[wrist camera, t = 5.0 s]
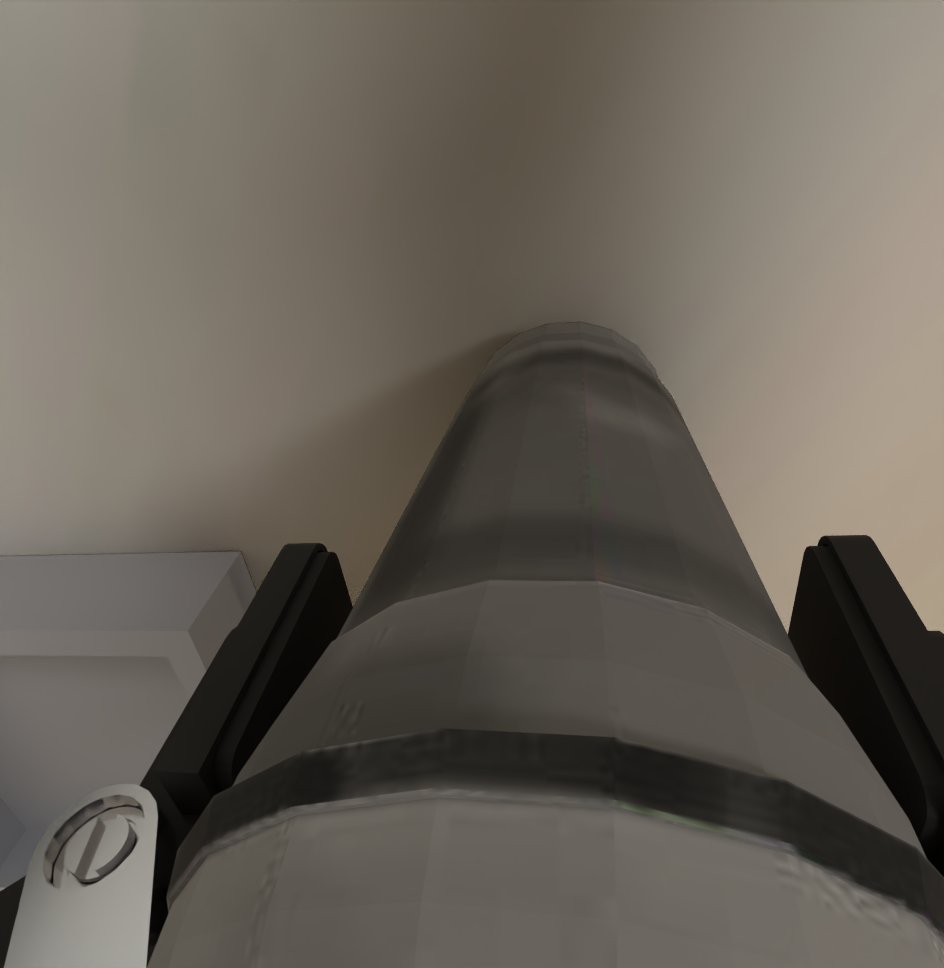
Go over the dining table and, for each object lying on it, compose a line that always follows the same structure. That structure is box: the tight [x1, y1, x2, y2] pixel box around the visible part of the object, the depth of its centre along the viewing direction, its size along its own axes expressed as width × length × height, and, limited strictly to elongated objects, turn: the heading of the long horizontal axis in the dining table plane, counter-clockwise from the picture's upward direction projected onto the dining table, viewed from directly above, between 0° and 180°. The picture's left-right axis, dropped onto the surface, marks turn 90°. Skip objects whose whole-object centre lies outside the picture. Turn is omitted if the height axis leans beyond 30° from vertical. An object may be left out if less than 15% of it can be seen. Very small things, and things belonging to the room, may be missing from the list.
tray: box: [0, 551, 256, 891], centre depth 25 cm, size 16×16×4 cm
